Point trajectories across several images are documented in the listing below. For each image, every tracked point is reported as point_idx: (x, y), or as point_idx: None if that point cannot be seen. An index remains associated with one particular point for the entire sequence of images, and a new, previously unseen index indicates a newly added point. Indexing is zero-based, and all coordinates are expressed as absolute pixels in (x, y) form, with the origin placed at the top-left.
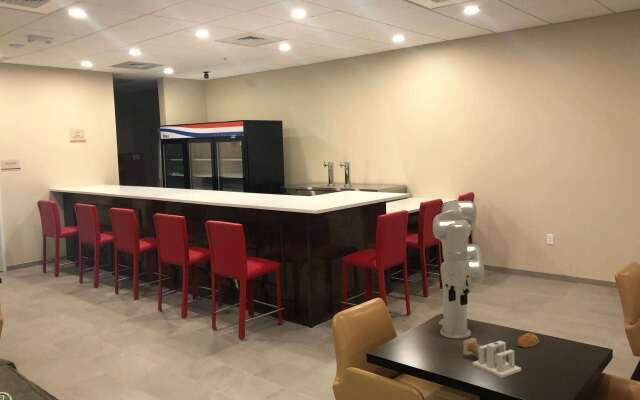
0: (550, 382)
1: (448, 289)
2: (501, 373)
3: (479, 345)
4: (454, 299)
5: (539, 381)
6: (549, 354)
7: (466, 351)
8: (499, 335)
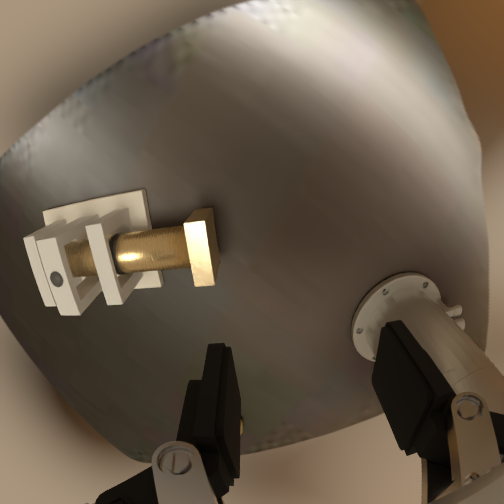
0: (16, 293)
1: (466, 410)
2: (49, 219)
3: (145, 256)
4: (376, 377)
5: (21, 277)
6: (140, 404)
7: (194, 212)
8: (303, 403)
